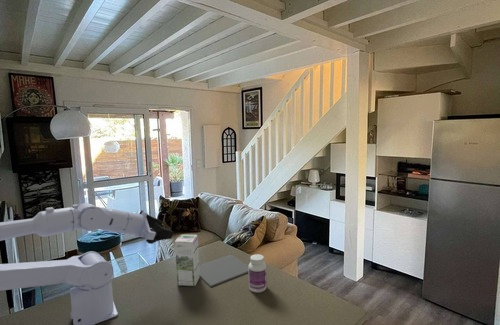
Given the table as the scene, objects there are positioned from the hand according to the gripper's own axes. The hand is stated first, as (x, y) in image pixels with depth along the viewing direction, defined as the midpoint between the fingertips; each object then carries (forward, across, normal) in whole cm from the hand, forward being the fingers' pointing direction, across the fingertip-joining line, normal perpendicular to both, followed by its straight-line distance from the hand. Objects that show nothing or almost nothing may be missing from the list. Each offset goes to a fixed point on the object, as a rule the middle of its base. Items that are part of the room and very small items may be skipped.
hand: (166, 229), depth 83 cm
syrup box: (+11, -7, +13) cm, 18 cm away
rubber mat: (+22, -8, +8) cm, 24 cm away
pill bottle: (+22, -24, +5) cm, 33 cm away
